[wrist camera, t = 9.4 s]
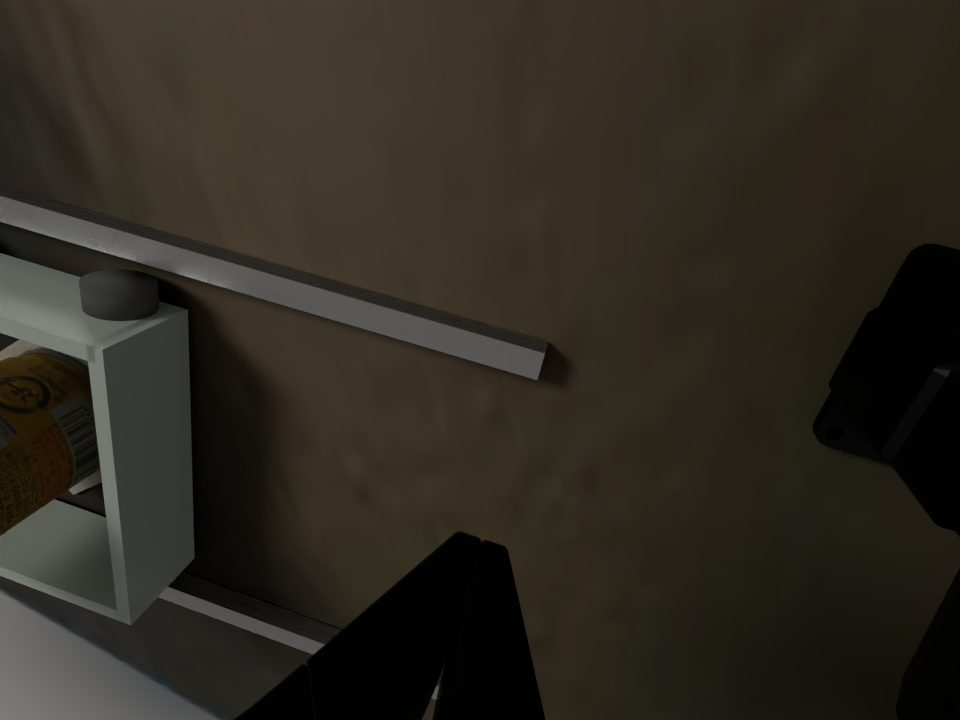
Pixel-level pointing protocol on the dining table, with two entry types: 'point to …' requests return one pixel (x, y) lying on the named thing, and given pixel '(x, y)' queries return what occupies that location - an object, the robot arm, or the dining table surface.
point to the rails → (289, 291)
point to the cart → (110, 438)
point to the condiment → (43, 430)
